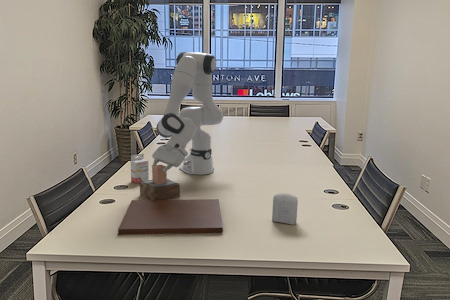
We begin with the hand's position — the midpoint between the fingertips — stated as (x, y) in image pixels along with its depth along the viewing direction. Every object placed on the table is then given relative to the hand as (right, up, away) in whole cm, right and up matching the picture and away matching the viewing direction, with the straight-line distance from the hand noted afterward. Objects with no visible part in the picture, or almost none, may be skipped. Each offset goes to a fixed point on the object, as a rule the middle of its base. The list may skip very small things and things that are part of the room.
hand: (158, 169), depth 198 cm
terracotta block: (0, -6, +2) cm, 6 cm away
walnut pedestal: (0, -13, +3) cm, 14 cm away
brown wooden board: (+10, -20, -24) cm, 33 cm away
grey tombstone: (+57, -21, -27) cm, 66 cm away
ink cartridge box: (-14, -8, +27) cm, 32 cm away
